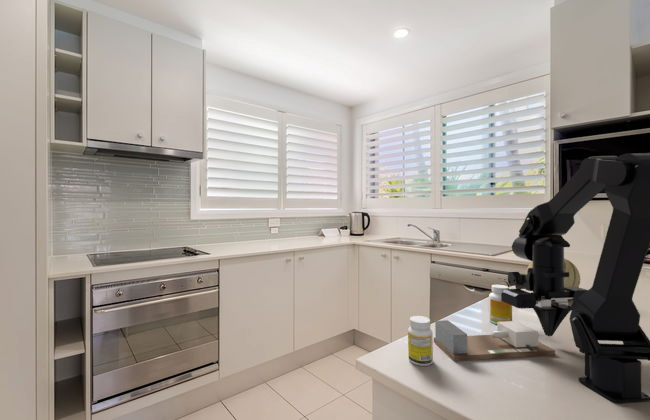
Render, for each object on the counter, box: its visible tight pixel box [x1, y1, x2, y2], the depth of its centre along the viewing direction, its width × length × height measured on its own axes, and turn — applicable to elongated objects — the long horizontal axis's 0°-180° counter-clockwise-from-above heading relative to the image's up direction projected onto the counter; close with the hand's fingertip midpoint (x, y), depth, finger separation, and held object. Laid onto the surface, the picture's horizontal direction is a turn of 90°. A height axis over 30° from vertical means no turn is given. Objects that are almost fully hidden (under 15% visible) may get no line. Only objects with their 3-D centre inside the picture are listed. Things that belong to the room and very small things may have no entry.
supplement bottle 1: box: [407, 315, 434, 367], centre depth 62 cm, size 5×5×8 cm
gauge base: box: [433, 334, 556, 362], centre depth 67 cm, size 22×9×1 cm, turn 95°
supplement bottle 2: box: [488, 284, 513, 325], centre depth 82 cm, size 5×5×10 cm
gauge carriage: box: [490, 320, 539, 351], centre depth 67 cm, size 8×8×3 cm
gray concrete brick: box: [434, 319, 468, 355], centre depth 66 cm, size 3×8×4 cm, turn 6°
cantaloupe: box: [525, 257, 581, 288], centre depth 104 cm, size 15×15×15 cm
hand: (548, 335), depth 68 cm, fingers closed
